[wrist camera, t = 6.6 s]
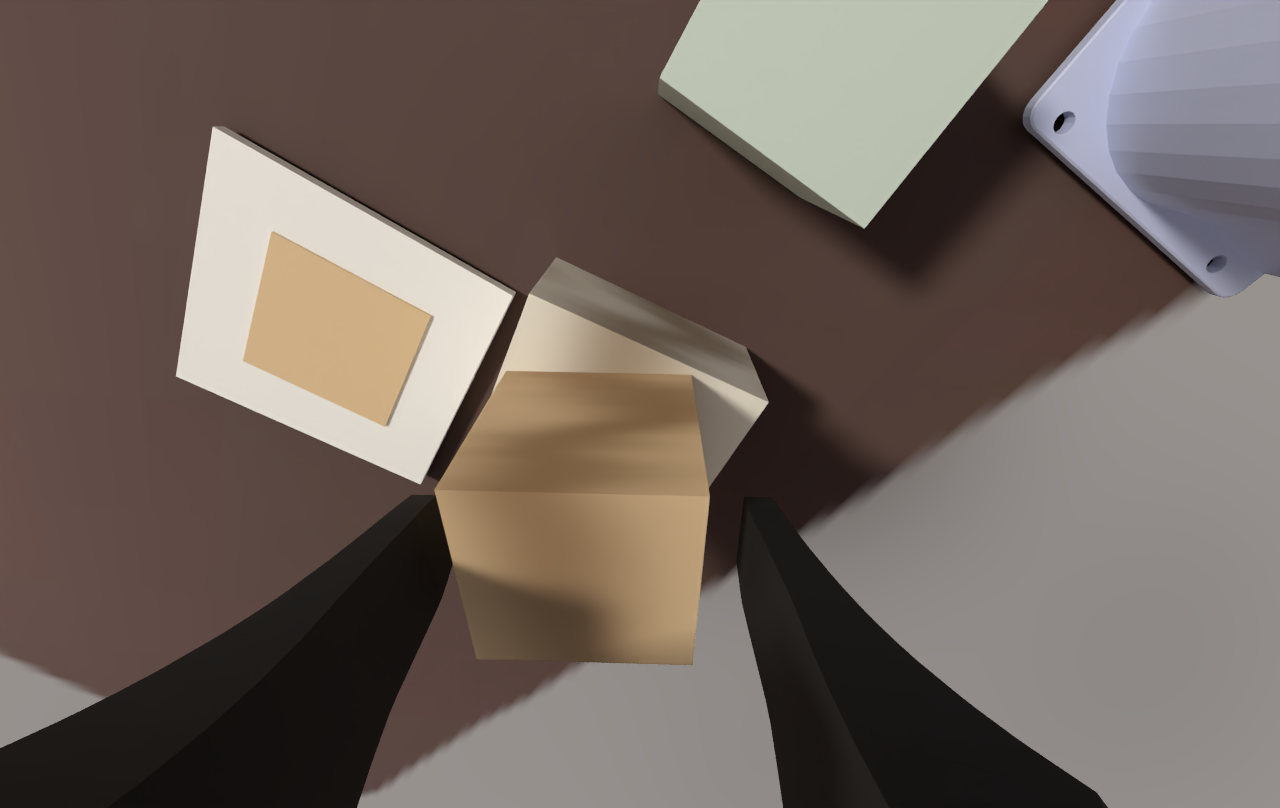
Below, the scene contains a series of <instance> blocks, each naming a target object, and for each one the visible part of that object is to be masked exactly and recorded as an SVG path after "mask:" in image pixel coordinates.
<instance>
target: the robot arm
mask: <svg viewBox="0 0 1280 808" xmlns="http://www.w3.org/2000/svg"><path fill="white" fill-rule="evenodd" d="M1062 113H1063V115H1064V117H1065V118H1064V124H1063V125H1062V127H1061V128H1060V129H1059V130H1058V131H1057V132H1055V131H1054V129H1053V126H1054V122H1055V120H1056V119H1057V117H1058V116H1059V115H1060V114H1062ZM1023 125H1024V127H1025V128H1026V130H1027V131H1028V132H1029V133H1031V134H1032V135H1033V136H1034V137H1035V138H1036V139H1037V140H1038V141H1039V142H1041V143H1042V144H1043V145H1044V146H1045V147H1046V148H1047V149H1048V150H1049V151H1051V152H1052V153H1053V154H1054V155H1055V156H1056V157H1057V158H1058V159H1060V160H1061V161H1062V162H1063V163H1064V164H1065V165H1066V166H1067V167H1068V168H1070V169H1071V170H1072V171H1073V172H1074V173H1075V174H1076V175H1077V176H1078V177H1080V178H1081V179H1082V180H1083V181H1084V182H1085V183H1086V184H1087V185H1089V186H1090V187H1091V188H1092V189H1093V190H1094V191H1095V192H1096V193H1097V194H1099V195H1100V196H1101V197H1102V198H1103V199H1104V200H1105V201H1106V202H1107V203H1109V204H1110V205H1111V206H1112V207H1113V208H1114V209H1115V210H1116V211H1118V212H1119V213H1120V214H1121V215H1122V216H1123V217H1124V218H1125V219H1126V220H1128V221H1129V222H1130V223H1131V224H1132V225H1133V226H1134V227H1135V228H1136V229H1138V230H1139V231H1140V232H1141V233H1142V234H1143V235H1144V236H1145V237H1147V238H1148V239H1149V240H1150V241H1151V242H1152V243H1153V244H1154V245H1155V246H1157V247H1158V248H1159V249H1160V250H1161V251H1162V252H1163V253H1164V254H1165V255H1167V256H1168V257H1169V258H1170V259H1171V260H1172V261H1173V262H1174V263H1176V264H1177V265H1178V266H1179V267H1180V268H1181V269H1182V270H1183V271H1184V272H1186V273H1187V274H1188V275H1189V276H1190V277H1191V278H1192V279H1193V280H1194V281H1196V282H1197V283H1198V284H1199V285H1200V286H1201V287H1202V288H1203V289H1204V290H1206V291H1207V292H1208V293H1210V294H1213V295H1216V296H1220V297H1230V296H1233V295H1236V294H1238V293H1240V292H1241V291H1243V290H1244V289H1245V288H1247V287H1248V286H1249V285H1251V284H1252V283H1253V282H1254V281H1256V280H1257V279H1258V278H1259V277H1261V276H1262V275H1263V274H1264V273H1266V274H1270V275H1274V276H1278V277H1280V0H1116V1H1115V2H1114V4H1113V5H1112V6H1111V7H1110V8H1109V9H1108V11H1107V12H1106V13H1105V14H1104V15H1103V16H1102V18H1101V19H1100V20H1099V21H1098V22H1097V23H1096V25H1095V26H1094V27H1093V28H1092V29H1091V30H1090V31H1089V33H1088V34H1087V35H1086V36H1085V37H1084V38H1083V40H1082V41H1081V42H1080V43H1079V44H1078V45H1077V47H1076V48H1075V49H1074V50H1073V51H1072V52H1071V54H1070V55H1069V56H1068V57H1067V58H1066V59H1065V61H1064V62H1063V63H1062V64H1061V65H1060V66H1059V67H1058V69H1057V70H1056V71H1055V72H1054V73H1053V74H1052V76H1051V77H1050V78H1049V79H1048V80H1047V81H1046V83H1045V84H1044V85H1043V86H1042V87H1041V88H1040V90H1039V91H1038V92H1037V93H1036V94H1035V95H1034V97H1033V98H1032V99H1031V100H1030V101H1029V103H1028V105H1027V106H1026V108H1025V110H1024V114H1023ZM1213 258H1214V259H1213ZM1212 259H1213V262H1212V263H1211V264H1210V265H1209V266H1208V267H1207V264H1208V263H1209V262H1210V261H1211V260H1212ZM452 564H453V562H452V558H451V554H450V550H449V546H448V542H447V538H446V534H445V530H444V526H443V522H442V518H441V514H440V510H439V506H438V502H437V498H436V495H411V496H410V497H408V498H407V499H406V500H404V501H403V502H402V503H400V504H399V505H398V506H397V507H395V508H394V509H393V510H392V511H390V512H389V513H388V514H387V515H385V516H384V517H383V518H382V519H380V520H379V521H378V522H377V523H375V524H374V525H373V526H372V527H370V528H369V529H368V530H367V531H366V532H364V533H363V534H362V535H360V536H359V537H358V538H357V539H355V540H354V541H353V542H352V543H350V544H349V545H348V546H347V547H345V548H344V549H343V550H342V551H340V552H339V553H338V554H337V555H335V556H334V557H333V558H331V559H330V560H329V561H327V562H326V563H325V564H323V565H322V566H321V567H319V568H318V569H317V570H315V571H314V572H312V573H311V574H310V575H308V576H307V577H306V578H304V579H303V580H302V581H300V582H299V583H298V584H296V585H295V586H293V587H292V588H291V589H289V590H288V591H287V592H285V593H284V594H282V595H281V596H279V597H278V598H277V599H275V600H274V601H272V602H271V603H269V604H268V605H266V606H265V607H263V608H262V609H260V610H259V611H257V612H256V613H254V614H253V615H251V616H249V617H248V618H246V619H245V620H243V621H242V622H240V623H239V624H237V625H235V626H234V627H232V628H231V629H229V630H227V631H226V632H224V633H223V634H221V635H219V636H218V637H216V638H214V639H212V640H211V641H209V642H207V643H206V644H204V645H202V646H200V647H199V648H197V649H195V650H193V651H192V652H190V653H188V654H186V655H185V656H183V657H181V658H180V659H178V660H176V661H174V662H173V663H171V664H169V665H167V666H166V667H164V668H162V669H160V670H159V671H157V672H155V673H153V674H151V675H149V676H148V677H146V678H144V679H142V680H140V681H138V682H136V683H134V684H132V685H130V686H129V687H127V688H125V689H123V690H121V691H119V692H117V693H115V694H113V695H111V696H109V697H107V698H105V699H103V700H101V701H99V702H97V703H95V704H93V705H91V706H89V707H87V708H85V709H83V710H81V711H80V712H77V713H75V714H74V715H71V716H69V717H67V718H65V719H63V720H61V721H59V722H57V723H54V724H52V725H50V726H48V727H46V728H43V729H41V730H39V731H37V732H35V733H33V734H30V735H29V736H26V737H24V738H22V739H20V740H17V741H15V742H13V743H11V744H9V745H6V746H4V747H2V748H0V808H357V805H358V803H359V800H360V797H361V794H362V790H363V787H364V784H365V781H366V778H367V775H368V772H369V769H370V766H371V763H372V761H373V758H374V755H375V752H376V749H377V747H378V744H379V741H380V738H381V735H382V733H383V730H384V727H385V724H386V721H387V719H388V716H389V713H390V711H391V709H392V706H393V704H394V702H395V699H396V697H397V694H398V692H399V690H400V688H401V686H402V684H403V681H404V679H405V677H406V675H407V673H408V671H409V669H410V666H411V664H412V662H413V660H414V658H415V656H416V653H417V651H418V649H419V647H420V645H421V643H422V641H423V638H424V636H425V634H426V632H427V630H428V628H429V625H430V623H431V621H432V619H433V617H434V614H435V612H436V610H437V608H438V606H439V603H440V601H441V599H442V596H443V593H444V590H445V587H446V584H447V581H448V577H449V574H450V571H451V567H452ZM737 568H738V576H739V584H740V592H741V598H742V605H743V609H744V613H745V617H746V622H747V626H748V630H749V634H750V638H751V642H752V646H753V650H754V654H755V658H756V662H757V666H758V670H759V675H760V678H761V683H762V687H763V691H764V695H765V699H766V703H767V708H768V713H769V718H770V723H771V729H772V736H773V742H774V749H775V755H776V761H777V768H778V774H779V782H780V788H781V796H782V802H783V808H1108V807H1107V806H1106V804H1105V803H1104V802H1103V801H1102V799H1101V798H1100V796H1099V795H1098V794H1097V793H1096V792H1095V791H1094V790H1092V789H1090V788H1089V787H1088V786H1086V785H1085V784H1083V783H1082V782H1080V781H1079V780H1077V779H1076V778H1074V777H1073V776H1071V775H1069V774H1068V773H1067V772H1065V771H1064V770H1062V769H1061V768H1059V767H1058V766H1056V765H1055V764H1053V763H1052V762H1050V761H1049V760H1047V759H1046V758H1044V757H1043V756H1042V755H1040V754H1039V753H1037V752H1036V751H1034V750H1033V749H1031V748H1030V747H1028V746H1027V745H1025V744H1024V743H1022V742H1021V741H1019V740H1018V739H1017V738H1015V737H1014V736H1012V735H1011V734H1010V733H1008V732H1007V731H1006V730H1004V729H1003V728H1002V727H1000V726H999V725H998V724H996V723H995V722H994V721H992V720H991V719H990V718H988V717H987V716H986V715H984V714H983V713H981V712H980V711H979V710H977V709H976V708H975V707H973V706H972V705H971V704H970V703H968V702H967V701H966V700H965V699H963V698H962V697H961V696H959V695H958V694H957V693H956V692H955V691H953V690H952V689H951V688H950V687H948V686H947V685H946V684H945V683H944V682H942V681H941V680H940V679H939V678H937V677H936V676H935V675H934V674H933V673H931V672H930V671H929V670H928V669H926V668H925V667H924V666H923V665H922V664H921V663H919V662H918V661H917V660H916V659H915V658H913V657H912V656H911V655H910V654H909V653H908V652H907V651H906V650H905V649H904V648H902V647H901V646H900V645H899V644H898V643H897V642H896V641H895V640H894V639H893V638H892V637H890V635H888V634H887V633H886V632H885V631H884V630H883V629H882V628H881V627H880V626H879V625H878V624H877V623H876V622H875V621H874V620H873V619H872V618H871V617H870V616H869V615H868V614H867V613H866V612H865V611H864V610H863V609H862V608H861V607H860V606H859V605H858V604H857V603H856V602H855V600H854V599H853V598H852V597H851V596H850V595H849V594H848V593H847V592H846V591H845V590H844V588H842V586H841V585H840V584H839V583H838V582H837V581H836V580H835V578H834V577H833V576H832V575H831V574H830V573H829V571H828V570H827V569H826V568H825V567H824V565H823V564H822V563H821V562H820V561H819V560H818V558H817V557H816V556H815V554H814V553H813V552H812V551H811V550H810V549H809V547H808V546H807V545H806V543H805V542H804V541H803V539H802V538H801V537H800V535H799V534H798V533H797V532H796V530H795V529H794V528H793V526H792V525H791V524H790V522H789V521H788V519H787V518H786V517H785V515H784V514H783V513H782V511H781V510H780V508H779V507H778V505H777V504H776V503H775V501H774V500H773V499H772V498H771V497H744V503H743V511H742V519H741V528H740V536H739V545H738V553H737Z"/></svg>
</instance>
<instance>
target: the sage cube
mask: <svg viewBox="0 0 1280 808" xmlns="http://www.w3.org/2000/svg"><path fill="white" fill-rule="evenodd" d="M1047 1H1048V0H700V2H699V4H698V6H697V8H696V9H695V11H694V13H693V15H692V17H691V19H690V21H689V23H688V25H687V27H686V29H685V30H684V32H683V34H682V36H681V38H680V40H679V42H678V44H677V46H676V48H675V49H674V51H673V53H672V55H671V57H670V59H669V61H668V63H667V65H666V67H665V69H664V70H663V72H662V74H661V76H660V79H659V87H658V95H660V96H661V97H662V98H664V99H665V100H666V101H668V102H669V103H671V104H672V105H673V106H675V107H676V108H677V109H679V110H680V111H682V112H683V113H684V114H686V115H687V116H688V117H690V118H691V119H693V120H694V121H695V122H697V123H698V124H699V125H701V126H702V127H704V128H705V129H706V130H708V131H709V132H710V133H712V134H713V135H715V136H716V137H717V138H719V139H720V140H721V141H723V142H724V143H726V144H727V145H728V146H730V147H731V148H733V149H734V150H735V151H737V152H738V153H739V154H741V155H742V156H744V157H745V158H746V159H748V160H749V161H750V162H752V163H753V164H755V165H756V166H757V167H759V168H760V169H761V170H763V171H764V172H766V173H767V174H768V175H770V176H771V177H772V178H774V179H775V180H777V181H778V182H779V183H781V184H782V185H783V186H785V187H786V188H788V189H789V190H790V191H792V192H793V193H794V194H796V195H797V196H799V197H800V198H802V199H804V200H806V201H808V202H810V203H812V204H814V205H816V206H818V207H820V208H822V209H825V210H827V211H829V212H831V213H833V214H835V215H837V216H839V217H841V218H843V219H845V220H847V221H850V222H852V223H854V224H856V225H858V226H860V227H862V228H864V229H865V227H866V226H867V225H868V224H869V222H870V221H871V220H872V219H873V217H874V216H875V215H876V214H877V213H878V211H879V210H880V209H881V208H882V206H883V205H884V204H885V203H886V201H887V200H888V199H889V198H890V196H891V195H892V194H893V193H894V191H895V190H896V189H897V188H898V186H899V185H900V184H901V183H902V181H903V180H904V179H905V178H906V176H907V175H908V174H909V173H910V172H911V170H912V169H913V168H914V167H915V165H916V164H917V163H918V162H919V160H920V159H921V158H922V157H923V155H924V154H925V153H926V152H927V150H928V149H929V148H930V147H931V145H932V144H933V143H934V142H935V140H936V139H937V138H938V137H939V135H940V134H941V133H942V132H943V130H944V129H945V128H946V127H947V126H948V124H949V123H950V122H951V121H952V119H953V118H954V117H955V116H956V114H957V113H958V112H959V111H960V109H961V108H962V107H963V106H964V104H965V103H966V102H967V101H968V99H969V98H970V97H971V96H972V94H973V93H974V92H975V91H976V89H977V88H978V87H979V86H980V85H981V83H982V82H983V81H984V80H985V78H986V77H987V76H988V75H989V73H990V72H991V71H992V70H993V68H994V67H995V66H996V65H997V63H998V62H999V61H1000V60H1001V58H1002V57H1003V56H1004V55H1005V53H1006V52H1007V51H1008V50H1009V48H1010V47H1011V46H1012V45H1013V44H1014V42H1015V41H1016V40H1017V39H1018V37H1019V36H1020V35H1021V34H1022V32H1023V31H1024V30H1025V29H1026V27H1027V26H1028V25H1029V24H1030V22H1031V21H1032V20H1033V19H1034V17H1035V16H1036V15H1037V14H1038V12H1039V11H1040V10H1041V9H1042V7H1043V6H1044V5H1045V4H1046V3H1047Z"/></svg>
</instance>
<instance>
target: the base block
mask: <svg viewBox="0 0 1280 808" xmlns="http://www.w3.org/2000/svg"><path fill="white" fill-rule="evenodd" d="M506 371H538V372H588V373H637V374H686V375H691V377H692V383H693V390H694V396H695V403H696V409H697V416H698V422H699V429H700V435H701V442H702V448H703V455H704V461H705V468H706V474H707V481H708V487H710V485H711V484H712V482H713V481H714V480H715V478H716V477H717V475H718V474H719V472H720V471H721V470H722V468H723V467H724V465H725V464H726V462H727V461H728V460H729V458H730V457H731V455H732V454H733V453H734V451H735V450H736V448H737V447H738V445H739V444H740V443H741V441H742V440H743V438H744V437H745V435H746V434H747V433H748V431H749V430H750V428H751V427H752V425H753V424H754V423H755V421H756V420H757V418H758V417H759V416H760V414H761V413H762V411H763V410H764V408H765V407H766V406H767V404H768V403H769V402H768V399H767V397H766V394H765V392H764V390H763V387H762V385H761V382H760V380H759V378H758V375H757V373H756V370H755V368H754V366H753V363H752V361H751V358H750V356H749V354H748V351H747V349H746V347H744V346H742V345H740V344H738V343H736V342H734V341H732V340H730V339H728V338H726V337H723V336H721V335H719V334H717V333H715V332H713V331H711V330H709V329H707V328H704V327H702V326H700V325H698V324H696V323H694V322H692V321H690V320H688V319H685V318H683V317H681V316H679V315H677V314H675V313H673V312H671V311H669V310H667V309H664V308H662V307H660V306H658V305H656V304H654V303H652V302H650V301H648V300H645V299H643V298H641V297H639V296H637V295H635V294H633V293H631V292H629V291H626V290H624V289H622V288H620V287H618V286H616V285H614V284H612V283H610V282H608V281H605V280H603V279H601V278H599V277H597V276H595V275H593V274H591V273H589V272H586V271H584V270H582V269H580V268H578V267H576V266H574V265H572V264H570V263H567V262H565V261H563V260H561V259H559V258H557V257H556V259H555V260H554V261H553V263H552V264H551V265H550V267H549V268H548V269H547V271H546V272H545V273H544V275H543V276H542V277H541V279H540V280H539V281H538V283H537V284H536V285H535V287H534V288H533V289H532V291H531V292H530V293H529V296H528V298H527V301H526V304H525V306H524V309H523V312H522V314H521V317H520V320H519V322H518V325H517V328H516V331H515V333H514V336H513V339H512V341H511V344H510V347H509V349H508V352H507V355H506V357H505V360H504V363H503V365H502V368H501V371H500V374H499V376H498V379H497V382H496V384H495V387H494V390H495V389H496V387H497V385H498V384H499V382H500V380H501V379H502V377H503V375H504V374H505V372H506ZM494 390H493V392H494ZM493 392H492V394H493Z"/></svg>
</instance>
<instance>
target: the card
mask: <svg viewBox="0 0 1280 808" xmlns="http://www.w3.org/2000/svg"><path fill="white" fill-rule="evenodd" d="M515 294H516V292H515V291H513V290H511V289H510V288H508V287H506V286H504V285H502V284H501V283H499V282H497V281H495V280H494V279H492V278H490V277H488V276H487V275H485V274H483V273H481V272H480V271H478V270H476V269H474V268H473V267H471V266H469V265H467V264H465V263H464V262H462V261H460V260H458V259H457V258H455V257H453V256H451V255H450V254H448V253H446V252H444V251H443V250H441V249H439V248H437V247H436V246H434V245H432V244H430V243H428V242H427V241H425V240H423V239H421V238H420V237H418V236H416V235H414V234H413V233H411V232H409V231H407V230H406V229H404V228H402V227H400V226H398V225H397V224H395V223H393V222H391V221H390V220H388V219H386V218H384V217H383V216H381V215H379V214H377V213H376V212H374V211H372V210H370V209H369V208H367V207H365V206H363V205H361V204H360V203H358V202H356V201H354V200H353V199H351V198H349V197H347V196H346V195H344V194H342V193H340V192H339V191H337V190H335V189H333V188H332V187H330V186H328V185H326V184H324V183H323V182H321V181H319V180H317V179H316V178H314V177H312V176H310V175H309V174H307V173H305V172H303V171H302V170H300V169H298V168H296V167H295V166H293V165H291V164H289V163H287V162H286V161H284V160H282V159H280V158H279V157H277V156H275V155H273V154H272V153H270V152H268V151H266V150H265V149H263V148H261V147H259V146H257V145H256V144H254V143H252V142H250V141H249V140H247V139H245V138H243V137H242V136H240V135H238V134H236V133H235V132H233V131H231V130H229V129H228V128H226V127H213V129H212V136H211V143H210V150H209V156H208V163H207V170H206V177H205V183H204V190H203V197H202V204H201V211H200V217H199V224H198V231H197V238H196V245H195V251H194V258H193V265H192V272H191V278H190V285H189V292H188V299H187V306H186V312H185V319H184V326H183V333H182V339H181V346H180V353H179V360H178V367H177V373H176V376H177V377H179V378H181V379H184V380H186V381H188V382H190V383H193V384H195V385H197V386H199V387H202V388H204V389H206V390H208V391H211V392H213V393H215V394H217V395H220V396H222V397H224V398H226V399H229V400H231V401H233V402H235V403H238V404H240V405H242V406H245V407H247V408H249V409H251V410H254V411H256V412H258V413H260V414H263V415H265V416H267V417H269V418H272V419H274V420H276V421H278V422H281V423H283V424H285V425H287V426H290V427H292V428H294V429H296V430H299V431H301V432H303V433H306V434H308V435H310V436H312V437H315V438H317V439H319V440H321V441H324V442H326V443H328V444H330V445H333V446H335V447H337V448H339V449H342V450H344V451H346V452H348V453H351V454H353V455H355V456H357V457H360V458H362V459H364V460H366V461H369V462H371V463H373V464H376V465H378V466H380V467H382V468H385V469H387V470H389V471H391V472H394V473H396V474H398V475H400V476H403V477H405V478H407V479H409V480H412V481H414V482H416V483H418V484H421V483H422V481H423V480H424V478H425V476H426V474H427V472H428V470H429V468H430V466H431V464H432V462H433V460H434V458H435V456H436V454H437V452H438V450H439V448H440V446H441V444H442V442H443V440H444V438H445V436H446V434H447V431H448V429H449V427H450V425H451V423H452V421H453V419H454V417H455V415H456V413H457V411H458V409H459V407H460V405H461V403H462V401H463V399H464V397H465V395H466V393H467V391H468V389H469V387H470V385H471V383H472V381H473V379H474V377H475V375H476V373H477V371H478V369H479V367H480V365H481V363H482V361H483V358H484V356H485V354H486V352H487V350H488V348H489V346H490V344H491V342H492V340H493V338H494V336H495V334H496V332H497V330H498V328H499V326H500V324H501V322H502V320H503V318H504V316H505V314H506V312H507V310H508V308H509V306H510V304H511V302H512V300H513V298H514V296H515Z"/></svg>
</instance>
